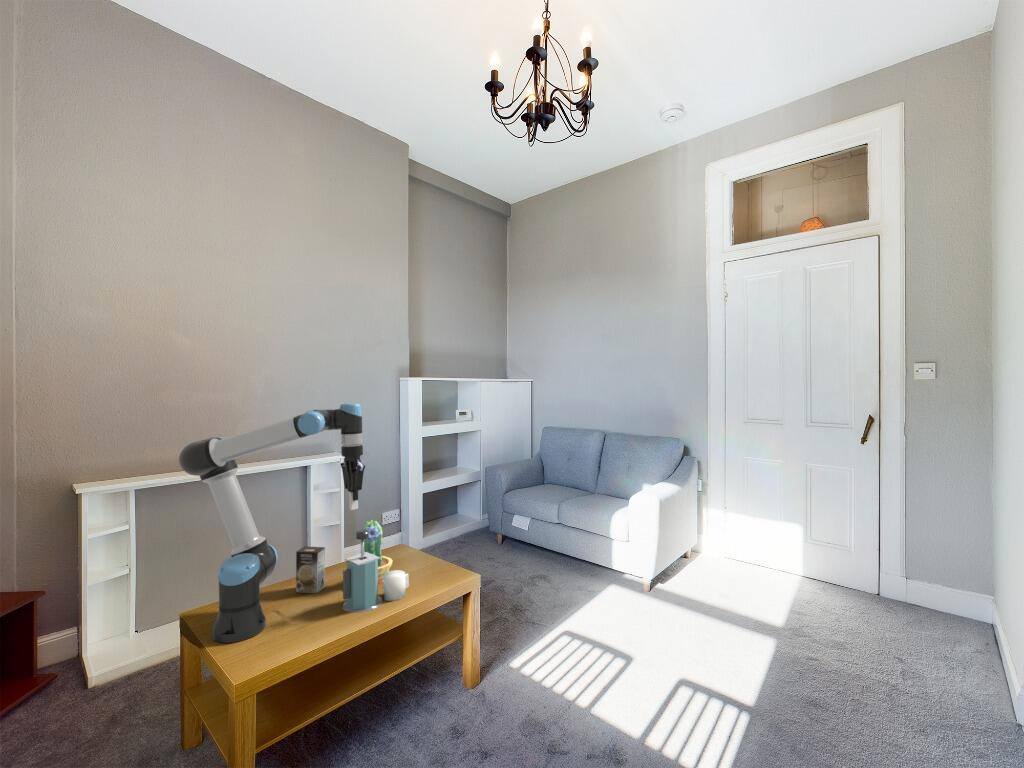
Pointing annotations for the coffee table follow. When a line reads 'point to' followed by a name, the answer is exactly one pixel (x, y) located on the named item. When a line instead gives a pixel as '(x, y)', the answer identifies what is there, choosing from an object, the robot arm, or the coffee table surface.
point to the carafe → (361, 581)
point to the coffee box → (310, 569)
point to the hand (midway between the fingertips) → (353, 508)
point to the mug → (395, 585)
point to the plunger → (362, 540)
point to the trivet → (363, 609)
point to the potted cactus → (376, 547)
